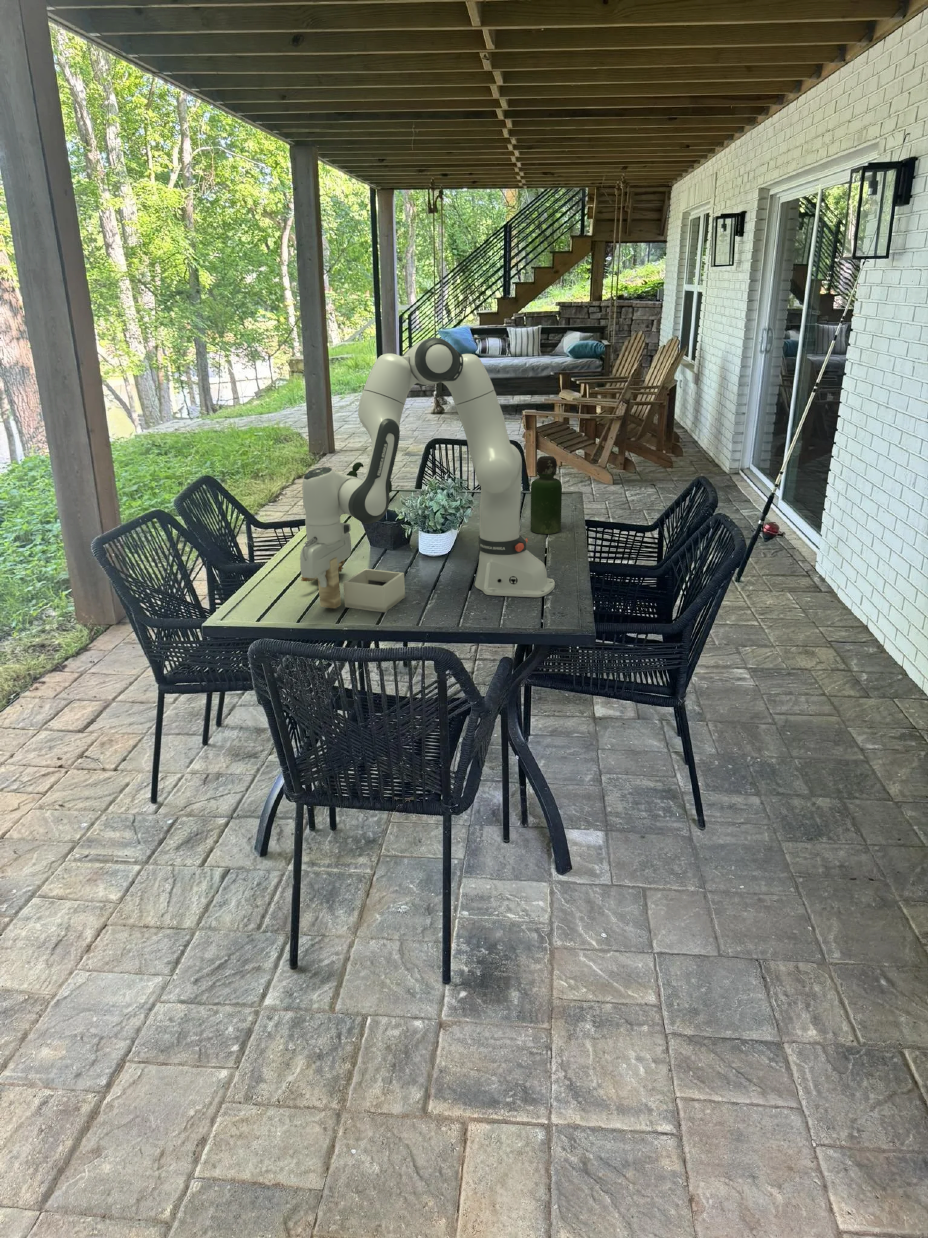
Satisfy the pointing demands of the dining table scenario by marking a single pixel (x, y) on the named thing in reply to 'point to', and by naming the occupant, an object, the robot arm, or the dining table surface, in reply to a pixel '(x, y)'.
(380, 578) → the square planter tray
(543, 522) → the green bottle
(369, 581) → the clip
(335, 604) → the tall tan wooden post
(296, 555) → the dining table surface
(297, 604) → the dining table surface
